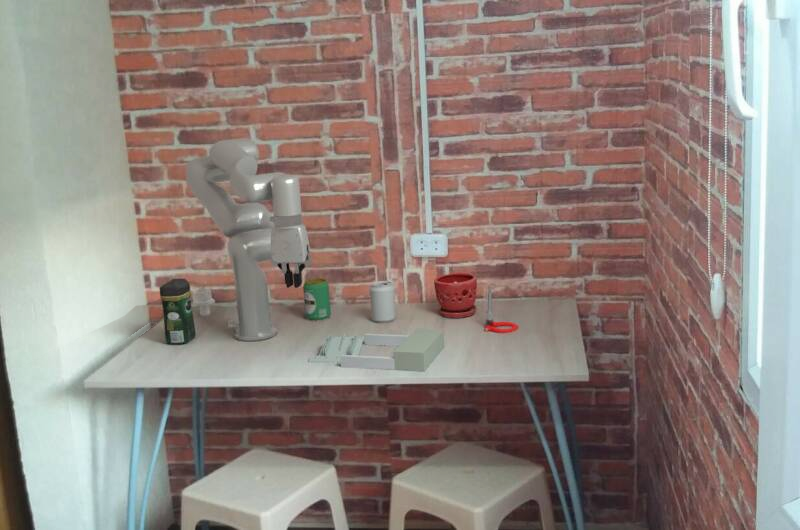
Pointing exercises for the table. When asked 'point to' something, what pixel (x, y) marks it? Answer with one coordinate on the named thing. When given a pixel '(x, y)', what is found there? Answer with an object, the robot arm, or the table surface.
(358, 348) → the metal bracket
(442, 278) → the plant pot
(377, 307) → the can
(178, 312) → the coffee jar
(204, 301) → the pipe fitting
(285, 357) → the table surface
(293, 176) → the robot arm
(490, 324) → the tow hook
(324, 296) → the beverage can
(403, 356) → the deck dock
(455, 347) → the table surface
